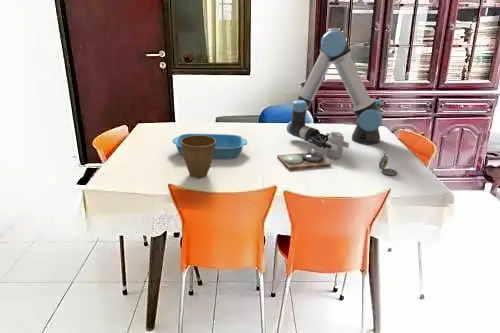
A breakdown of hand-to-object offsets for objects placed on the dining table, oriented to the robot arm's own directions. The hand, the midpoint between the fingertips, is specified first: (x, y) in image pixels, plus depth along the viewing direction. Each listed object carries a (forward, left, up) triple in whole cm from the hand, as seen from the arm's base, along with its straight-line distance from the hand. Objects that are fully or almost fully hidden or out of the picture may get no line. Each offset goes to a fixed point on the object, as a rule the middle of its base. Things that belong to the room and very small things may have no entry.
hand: (342, 147), depth 209 cm
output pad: (+25, -1, -5) cm, 26 cm away
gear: (+15, -1, -5) cm, 16 cm away
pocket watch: (-13, +19, -7) cm, 25 cm away
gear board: (+20, -1, -7) cm, 21 cm away
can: (+2, -5, -7) cm, 8 cm away
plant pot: (+71, +3, -7) cm, 71 cm away
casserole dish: (+61, -23, -7) cm, 65 cm away
